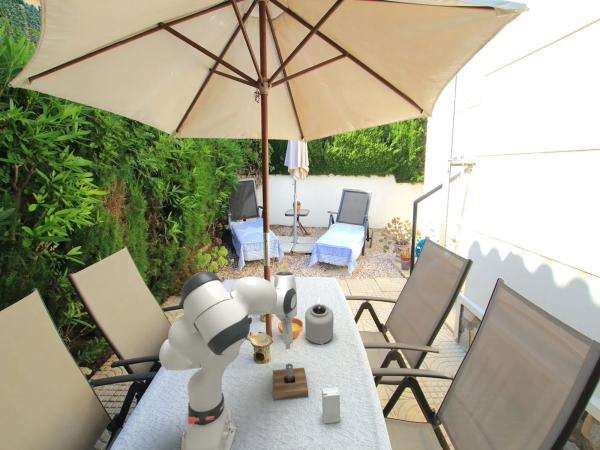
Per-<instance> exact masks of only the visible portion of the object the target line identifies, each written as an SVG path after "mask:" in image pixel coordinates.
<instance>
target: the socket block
mask: <svg viewBox="0 0 600 450" xmlns="http://www.w3.org/2000/svg"><path fill="white" fill-rule="evenodd" d="M306 375H307V374H306V370H305V367H295V368H294V367H293V383H287V384H286V368H284V369H273V370H272V391H273V392H272V393H273V401H280V400H281V401H282V400H283V401H284V400H293V399H294V400H295V399H305V398H309V388H308V381H307V376H306Z"/></svg>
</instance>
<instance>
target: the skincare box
mask: <svg viewBox="0 0 600 450" xmlns="http://www.w3.org/2000/svg"><path fill="white" fill-rule="evenodd" d="M340 397H341V394H340V392H339V388H338V387H337V386H335V387H327V388H326V387H325V388H321V398H322V399H321V400H322V402H321V403H322V406H321V407H322V417H323V424H333V423H334V424H335V423H341V398H340Z"/></svg>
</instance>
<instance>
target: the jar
mask: <svg viewBox="0 0 600 450" xmlns="http://www.w3.org/2000/svg"><path fill="white" fill-rule="evenodd" d="M318 298H319V299H318V300H317V303H316V304H313V305H312V306H310V307H308V308H307V310H306V311H305V313H304V314H305V315H304V321H305V324H304V325H305V326H304V327H305V328H304V329H305V332H304V333H305V336H306V338H307V340H309V341H310V342H311V343H314V344H318V345H319V344H320V345H324V344H325V343H328V342H330V340H331V339H332V338H333V336H334V319H335V318H334V312H333V310H332V309H331V308H330V307H328V306H327V305H326V304H323V303H320V300H321V299H320V297H318ZM327 349H329V348H327Z"/></svg>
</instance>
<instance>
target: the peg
mask: <svg viewBox="0 0 600 450" xmlns="http://www.w3.org/2000/svg"><path fill="white" fill-rule="evenodd" d="M293 368H294V365H293V364H292V363H287V364H285V369H286V383H285V384H287V383H293Z"/></svg>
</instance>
